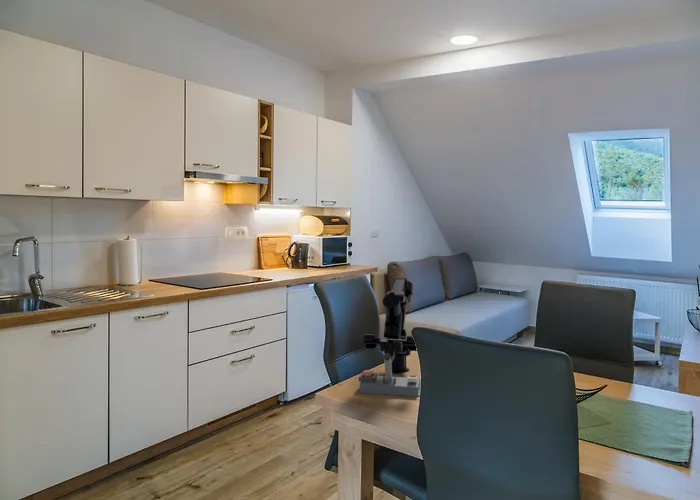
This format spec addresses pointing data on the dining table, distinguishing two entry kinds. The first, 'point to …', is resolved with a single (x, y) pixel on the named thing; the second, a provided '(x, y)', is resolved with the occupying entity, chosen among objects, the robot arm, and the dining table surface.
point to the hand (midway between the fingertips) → (388, 365)
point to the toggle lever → (388, 367)
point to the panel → (388, 385)
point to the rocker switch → (412, 378)
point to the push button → (367, 373)
